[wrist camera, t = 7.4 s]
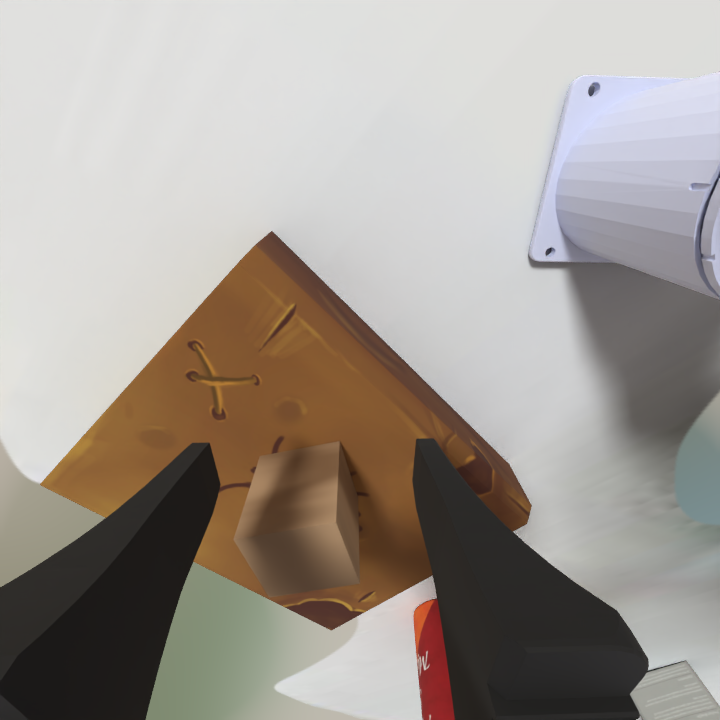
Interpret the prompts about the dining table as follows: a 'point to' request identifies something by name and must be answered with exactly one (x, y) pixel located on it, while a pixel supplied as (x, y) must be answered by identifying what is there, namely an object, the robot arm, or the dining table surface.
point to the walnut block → (301, 521)
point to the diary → (287, 425)
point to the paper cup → (432, 663)
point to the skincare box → (674, 695)
